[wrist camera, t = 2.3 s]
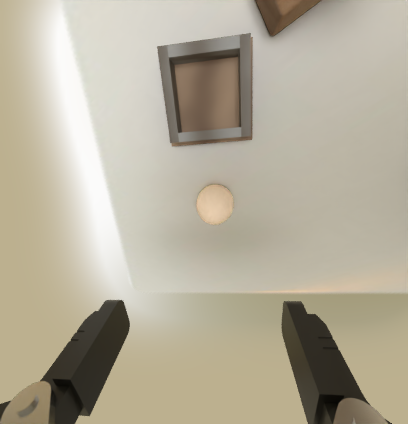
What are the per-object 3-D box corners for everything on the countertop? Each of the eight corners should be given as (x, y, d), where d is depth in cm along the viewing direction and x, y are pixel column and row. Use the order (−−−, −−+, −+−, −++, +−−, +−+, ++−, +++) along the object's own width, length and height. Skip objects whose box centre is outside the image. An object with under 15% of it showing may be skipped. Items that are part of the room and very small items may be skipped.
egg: (235, 206, 29) (239, 230, 22) (204, 213, 30) (199, 238, 23) (228, 175, 28) (230, 190, 21) (195, 183, 28) (187, 201, 22)
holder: (251, 41, 22) (256, 25, 19) (251, 139, 26) (255, 140, 22) (161, 53, 23) (151, 41, 20) (173, 145, 27) (167, 147, 23)
